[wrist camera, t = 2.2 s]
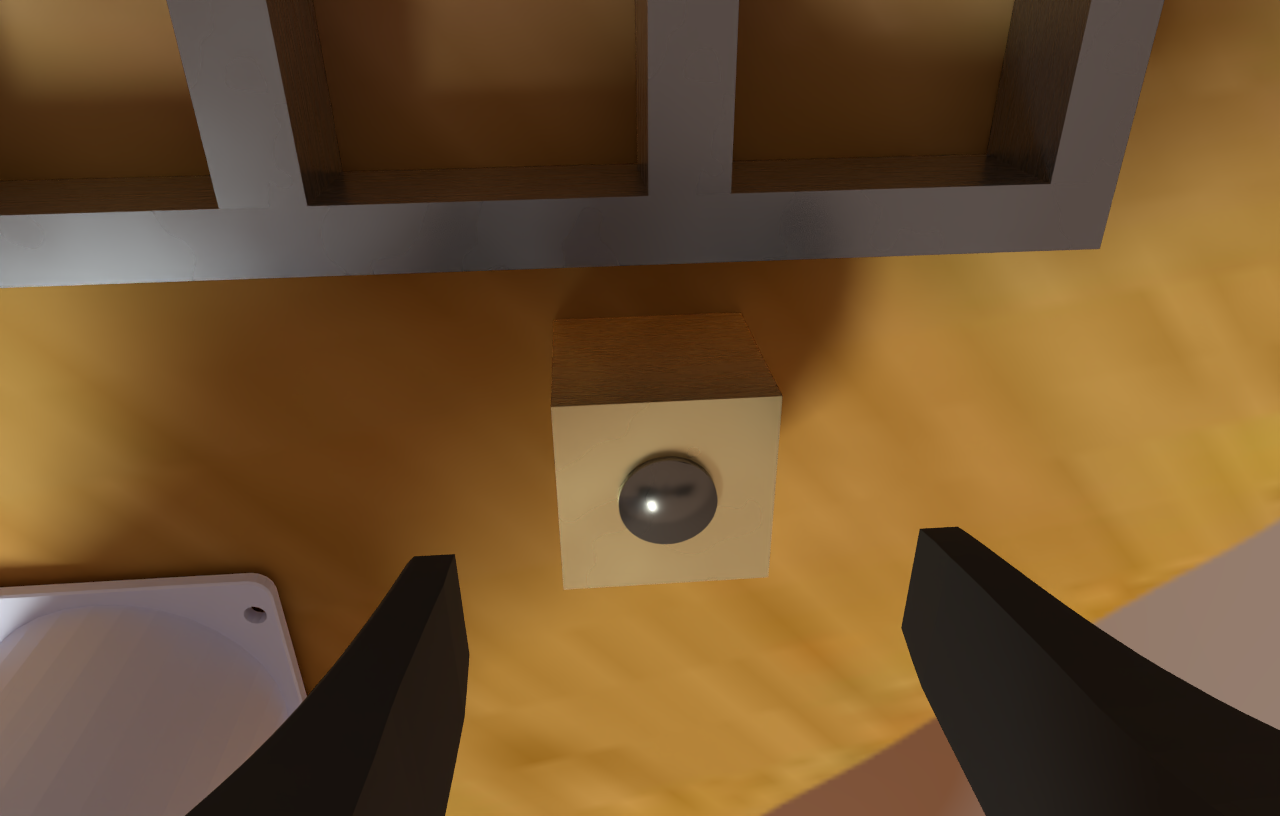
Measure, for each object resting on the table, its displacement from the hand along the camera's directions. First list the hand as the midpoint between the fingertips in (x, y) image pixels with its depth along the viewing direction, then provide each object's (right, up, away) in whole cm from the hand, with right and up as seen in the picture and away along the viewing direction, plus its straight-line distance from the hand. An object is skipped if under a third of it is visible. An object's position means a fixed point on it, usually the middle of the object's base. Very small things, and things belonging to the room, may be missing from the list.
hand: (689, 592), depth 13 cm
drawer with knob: (-1, +3, +6) cm, 7 cm away
